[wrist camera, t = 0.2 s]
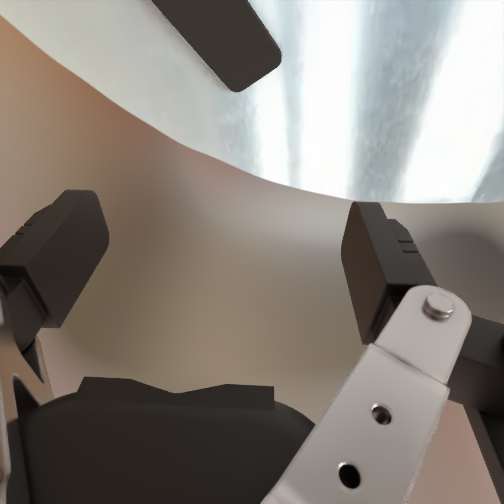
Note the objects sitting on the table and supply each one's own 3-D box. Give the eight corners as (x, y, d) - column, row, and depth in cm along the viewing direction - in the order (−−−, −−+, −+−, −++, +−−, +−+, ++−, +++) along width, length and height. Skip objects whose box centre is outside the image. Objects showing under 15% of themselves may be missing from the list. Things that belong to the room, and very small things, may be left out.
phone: (234, 96, 41) (129, -23, 31) (235, 91, 41) (131, -28, 31) (286, 61, 37) (185, -90, 26) (286, 57, 37) (186, -94, 27)
